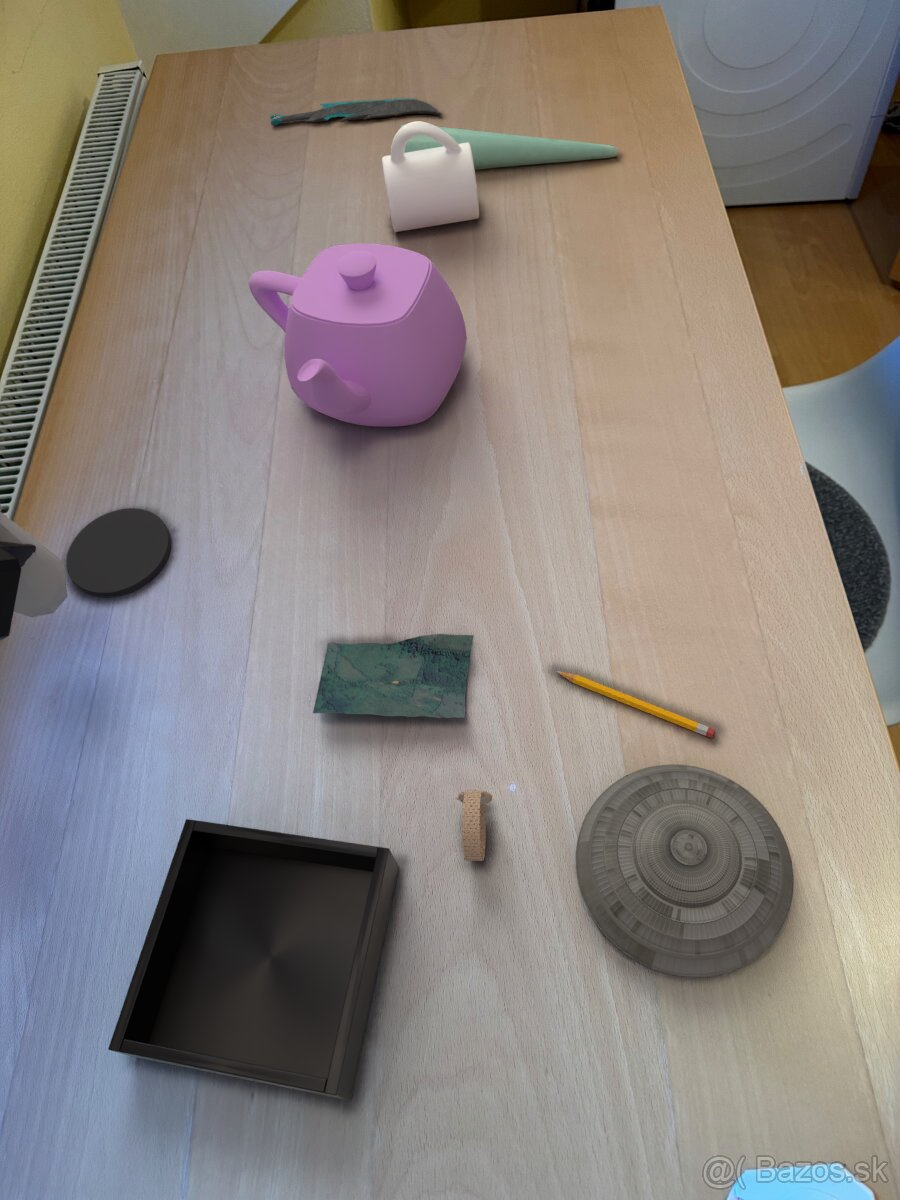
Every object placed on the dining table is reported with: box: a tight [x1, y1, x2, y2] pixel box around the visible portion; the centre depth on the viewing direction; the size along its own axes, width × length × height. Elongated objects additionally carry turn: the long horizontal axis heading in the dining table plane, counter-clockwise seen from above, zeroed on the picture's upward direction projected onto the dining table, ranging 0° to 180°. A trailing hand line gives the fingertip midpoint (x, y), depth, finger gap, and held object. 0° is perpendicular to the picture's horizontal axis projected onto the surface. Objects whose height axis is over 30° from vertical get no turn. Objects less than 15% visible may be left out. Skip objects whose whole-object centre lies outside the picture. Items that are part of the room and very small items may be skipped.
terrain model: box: [312, 633, 474, 719], centre depth 75 cm, size 13×8×2 cm, turn 86°
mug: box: [381, 120, 480, 233], centre depth 105 cm, size 8×10×12 cm
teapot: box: [248, 243, 468, 427], centre depth 88 cm, size 23×21×15 cm
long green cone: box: [400, 124, 619, 171], centre depth 112 cm, size 5×6×27 cm
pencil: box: [555, 670, 716, 739], centre depth 72 cm, size 1×13×1 cm, turn 62°
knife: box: [269, 98, 443, 127], centre depth 125 cm, size 24×1×5 cm
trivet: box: [66, 507, 172, 598], centre depth 87 cm, size 10×10×1 cm
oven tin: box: [108, 818, 400, 1102], centre depth 63 cm, size 16×16×4 cm
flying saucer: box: [575, 764, 795, 978], centre depth 63 cm, size 15×15×6 cm
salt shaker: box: [0, 503, 68, 618], centre depth 71 cm, size 6×6×13 cm
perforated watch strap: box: [455, 789, 493, 862], centre depth 66 cm, size 3×5×5 cm, turn 178°
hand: (20, 543), depth 72 cm, fingers closed on salt shaker, 3 cm apart
